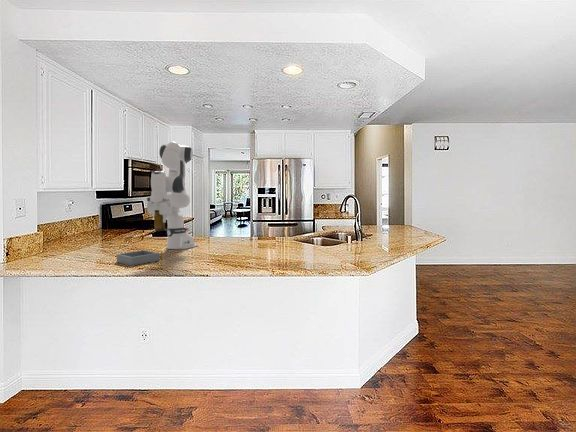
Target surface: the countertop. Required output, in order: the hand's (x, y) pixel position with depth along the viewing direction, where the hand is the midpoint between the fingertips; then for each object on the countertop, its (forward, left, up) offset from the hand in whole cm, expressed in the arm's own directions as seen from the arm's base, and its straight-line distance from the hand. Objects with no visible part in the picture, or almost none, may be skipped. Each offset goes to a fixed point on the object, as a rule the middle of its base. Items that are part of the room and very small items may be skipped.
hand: (160, 222), depth 254 cm
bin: (+10, -9, -23) cm, 27 cm away
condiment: (0, +1, -5) cm, 5 cm away
